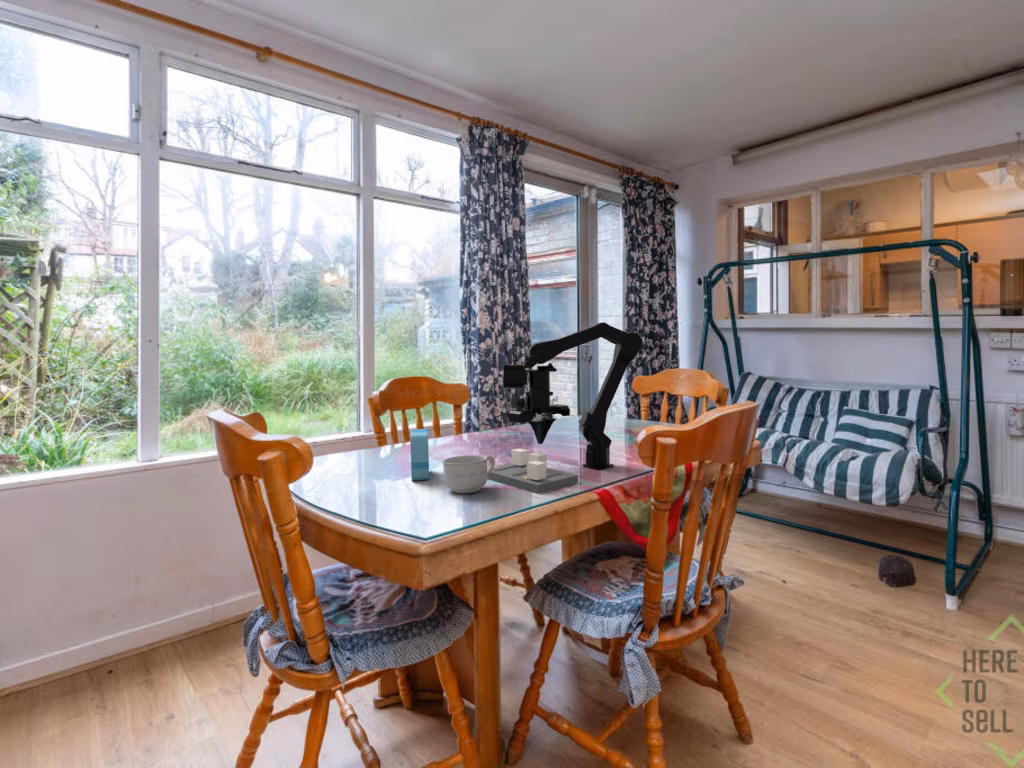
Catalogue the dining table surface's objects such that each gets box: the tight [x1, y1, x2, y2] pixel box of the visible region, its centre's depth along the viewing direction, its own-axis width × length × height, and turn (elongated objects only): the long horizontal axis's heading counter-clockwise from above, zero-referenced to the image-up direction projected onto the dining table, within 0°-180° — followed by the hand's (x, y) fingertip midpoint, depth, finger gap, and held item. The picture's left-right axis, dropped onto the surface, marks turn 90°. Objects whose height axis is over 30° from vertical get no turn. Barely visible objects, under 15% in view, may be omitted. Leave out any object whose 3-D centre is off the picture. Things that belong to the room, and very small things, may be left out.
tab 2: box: [527, 461, 546, 480], centre depth 142 cm, size 3×4×4 cm
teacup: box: [442, 454, 496, 494], centre depth 141 cm, size 14×11×8 cm
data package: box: [409, 428, 430, 482], centre depth 155 cm, size 12×4×12 cm, turn 8°
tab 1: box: [510, 448, 529, 466], centre depth 157 cm, size 3×4×4 cm
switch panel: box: [487, 462, 579, 494], centre depth 150 cm, size 14×22×2 cm, turn 41°
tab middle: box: [528, 451, 548, 469], centre depth 152 cm, size 3×4×4 cm
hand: (540, 443), depth 162 cm, fingers closed
